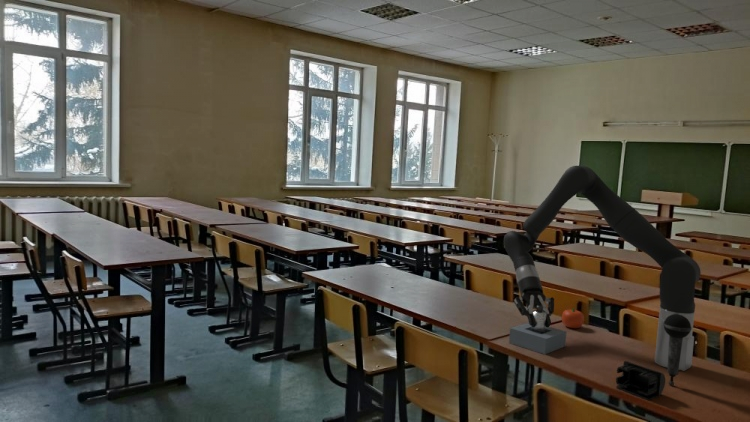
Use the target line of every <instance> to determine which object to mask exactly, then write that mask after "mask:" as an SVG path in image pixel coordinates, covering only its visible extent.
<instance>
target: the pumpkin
mask: <svg viewBox="0 0 750 422" xmlns="http://www.w3.org/2000/svg"><path fill="white" fill-rule="evenodd" d="M561 314H562V315H561V322H562V324H563V326H565V327H567V328H569V329H579V328H581V327H583V324H584V321H585V316H584V313H582V312H581V311H579V310H576V309H575V308H574V307H573V308H572V309H565V310H564V311H563V312H562V313H561Z"/></svg>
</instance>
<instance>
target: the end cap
mask: <svg viewBox="0 0 750 422" xmlns="http://www.w3.org/2000/svg"><path fill="white" fill-rule="evenodd" d="M620 373H622V374H621V375H620V376H617V377H616V378H615V383H616V389H617V390H619V391H621V392H625V393H627V394H629V395H632V396H635V397H638V398H640V399H643V400H645V401H652V400H654V398H655V399H656V398H658V397H659V396H660V395H661V394H663V391H664V389H665V385H666V376H665V374H664V373H662V372H660V371H657V370H656V369H655V370H654V369H652V368H649V367H645V366H642V365H639V364H637V363H634V362H630V361H628V360H624V361H623V365H620V366H618V367H617V369H616V374H620Z"/></svg>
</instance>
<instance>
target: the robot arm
mask: <svg viewBox="0 0 750 422" xmlns="http://www.w3.org/2000/svg"><path fill="white" fill-rule="evenodd" d="M578 194H580V195H582V196H583V197H585V198H586V199H587V200H588V201H589V202H590V203H592V204H593V205H594V207H596V208H597V210H598V211H599V213H600V214H601V215H602V218H603V219H604V220H605V222H606V223H607V225H608V226H609V227H610V229H612V230H613V231H614V232H615V233H616V234H617V235H619V236H620V238H621V239H623V240H624V241H625V242H627V243H629V244H630V245H631V246H633V247H634V248H636V249H638V250H640V251H641V252H643V253H645V254H647V255H648V256H649V257H650V258H651V259H652V260H654V261H655V262H656V263H657V264H658V266H659V267H661V272H660V273H661V274H660V280H659V281H660V284H659V300H660V301H659V304H660V305H659V313H658V323H657V324H658V325H657V333H656V342H655V343H656V345H655V353H654V362H655V363H656V364H657V365H658V366H660V367H664V368H667V367H668V351H669V335H668V334H667V333H666V331H665V329H664V326H663V323H664V321H665V319H666V318H667V317H668V316H670V315H673V314H679V315H682V316H684V317H686V318H687V319H688V320H689V322H690V324H691V328H692V329H691V331H690V333H689V334H688V335H687V336H686V337H684V338H683V341H682V348H681V355H680V362H679V369H678V371H682V372H685V371H686V370H689V369H690V368H691V367H692V361H693V354H694V353H693V352H694V342H695V336H694V335H693V330H694V321H695V320H694V319H695V313H696V312H695V311H696V303H695V291H696V289H695V288H696V283H697V282H698V281H699V280H700V277H701V273H702V272H701V268H700V266H699V264H698V263H697V261H696V260H695V259H693V258H692V257H691V256H689V255H688V254H686V253H685V252H684V251H682V250H681V249H680V248H678V247H677V246H676V245H674V244H673V243H672V242H670V241H669V240H668V239H667V238H666V237H665V236H664V235H663V233H661V232H660V231H659V230H658V229H657V228H656V227H655V226H654V225H653V224H652V223H651V222H650V221H648V219H647V218H646V217H644V216H643V214H641V213H640V212H639V211H638V210H637V209H636V208H634V207H633V206H632V205H631V204H629V202H627V201H626V200H624V199H623V198H622V197H621V196H619V195H618V194H617V193H616V192H614V191H613V190H612V188H609V186H608V185H607V184H606V183H605V182H604V181H603V180H602V179H601V177H599V176H598V174H597V173H596V172H595V171H594V170H593V169H592V168H591V167H588V166H585V165H572V166H570V167H569V168H567V169H566V170H565V171H564V172H563V174H562V176H561V177H560V178H559V180H558V181H557V183H556V184H555V186H554V187H553V189H552V190H551V191H550V193H549V194H548V195H547V197H545V198H544V200H543V201H542V202H541V203H540V204H539V205H538V206H537V208H536V209H535V210H534V211H533V212H532V213H531V214H530V215H529V216H528V217H527V218H526V219H525V220H524V221H523V224H522V227H523V230H524V231H525V233H521V232H519V231H516V230H509V231H508V232H507V233H506V234H504V236H503V246H504V250H505V251H506V253H507V255H508V257H509V259H510V260H511V261H512V264H513V267H514V268H513V269H514V272H515V277H516V278H515V279H516V283H517V285H518V290H519V293H520V296H516V297H515V298H514V300H513V304H515V306H516V308H517V309H518V312H519V313H520V314H521V316H522V317H523V316H525V317H527V320H528V323H529V324H530V325H531V327H535V325H536V322H535V318H534V315H533V314H532V313H533V309H537V305H541V306H543V311H545V312H546V325H545V326H546V327H551V324H552V320H551V316H552V315H553V313H554V312H555V298H554V297H553V296H552V297H546V295H545V293H544V290H543V285H542V281H541V279H540V276H539V273H538V270H537V268H536V264H535V260H534V259H533V256H532V255H531V254H530V253H529V252H530V251H531V250H532V249H533V248H534V246H535V244H536V243H537V241H538V239H539V237H540V235H541V234H542V233H543V232H544V231H545V230H546V229H547V228H548V226H550V225H551V223H552V222H553V221H554V220H555V219H556V216H557V215H558V213H560V210H561V209H562V208H563V207H564V206H565V204H567V202H568V201H569V200H571V198H573V197H574V196H576V195H578ZM524 304H525V305H526V306H525V305H524Z"/></svg>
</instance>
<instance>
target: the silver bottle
mask: <svg viewBox="0 0 750 422" xmlns="http://www.w3.org/2000/svg"><path fill="white" fill-rule="evenodd" d="M532 314H533V315H534V318H535V322H536V325H535V327H531V331H533V332H536V333H540V334H544V333H545V325H546V312H545V311H543V306H541V305H537V308H536V309H534V310H533V313H532Z"/></svg>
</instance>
